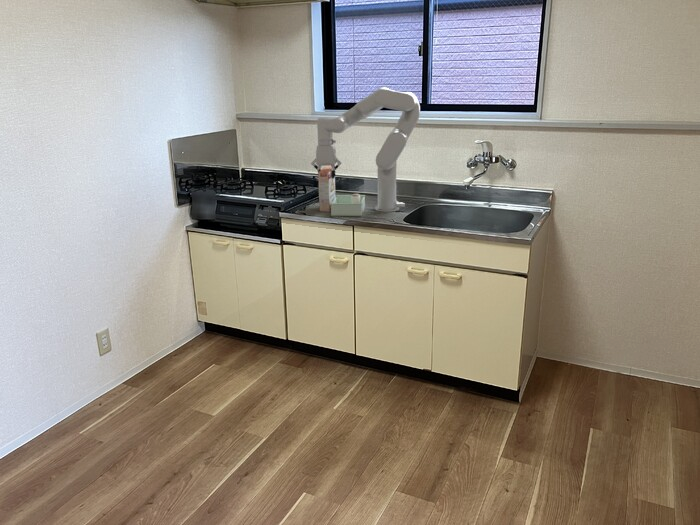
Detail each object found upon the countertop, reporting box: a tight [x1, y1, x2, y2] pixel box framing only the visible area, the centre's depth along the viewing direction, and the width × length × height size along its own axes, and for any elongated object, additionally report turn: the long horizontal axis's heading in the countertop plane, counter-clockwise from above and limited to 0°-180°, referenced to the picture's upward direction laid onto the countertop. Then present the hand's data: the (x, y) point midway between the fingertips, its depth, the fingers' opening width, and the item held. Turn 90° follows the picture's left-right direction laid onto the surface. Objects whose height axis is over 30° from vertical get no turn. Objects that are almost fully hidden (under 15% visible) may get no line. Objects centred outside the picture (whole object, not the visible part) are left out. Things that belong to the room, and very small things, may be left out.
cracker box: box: [317, 166, 336, 212], centre depth 295 cm, size 14×6×21 cm, turn 168°
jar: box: [351, 193, 361, 203], centre depth 289 cm, size 4×4×9 cm
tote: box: [330, 194, 366, 217], centre depth 290 cm, size 16×18×7 cm
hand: (326, 177), depth 293 cm, fingers closed on cracker box, 6 cm apart
